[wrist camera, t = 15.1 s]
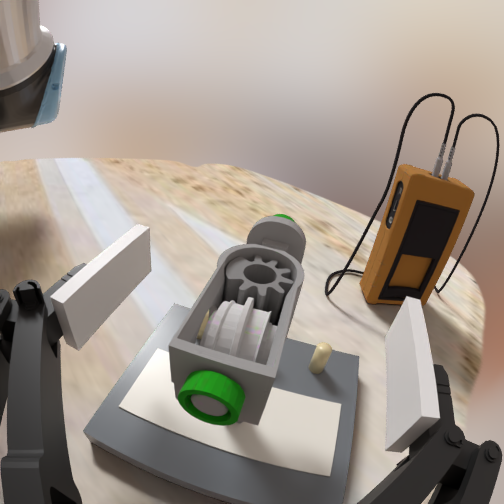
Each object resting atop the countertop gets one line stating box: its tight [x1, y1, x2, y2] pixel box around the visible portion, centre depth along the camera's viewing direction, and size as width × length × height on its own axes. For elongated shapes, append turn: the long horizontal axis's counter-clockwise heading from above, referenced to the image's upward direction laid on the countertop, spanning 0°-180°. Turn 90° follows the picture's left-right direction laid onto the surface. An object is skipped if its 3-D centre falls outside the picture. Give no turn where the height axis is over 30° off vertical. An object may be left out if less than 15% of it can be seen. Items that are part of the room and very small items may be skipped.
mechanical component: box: [168, 214, 306, 426], centre depth 13 cm, size 3×10×10 cm, turn 166°
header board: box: [83, 303, 359, 504], centre depth 17 cm, size 14×12×4 cm
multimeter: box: [325, 93, 499, 306], centre depth 28 cm, size 15×10×20 cm
